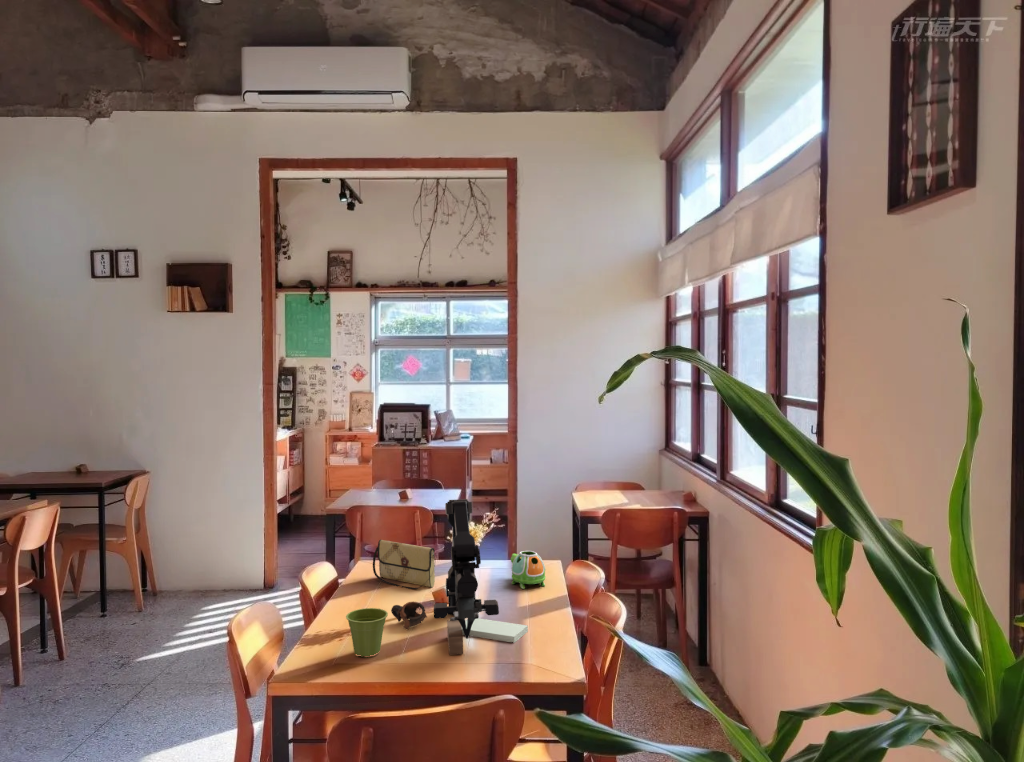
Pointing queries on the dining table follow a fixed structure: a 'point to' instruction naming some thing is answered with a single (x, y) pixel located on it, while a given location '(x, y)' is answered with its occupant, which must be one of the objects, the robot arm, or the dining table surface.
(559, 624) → the dining table surface
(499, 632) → the pale green flat block
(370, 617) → the plant pot
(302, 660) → the dining table surface
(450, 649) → the folding leg
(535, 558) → the turtle holder
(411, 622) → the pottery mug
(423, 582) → the clutch purse
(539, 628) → the dining table surface
